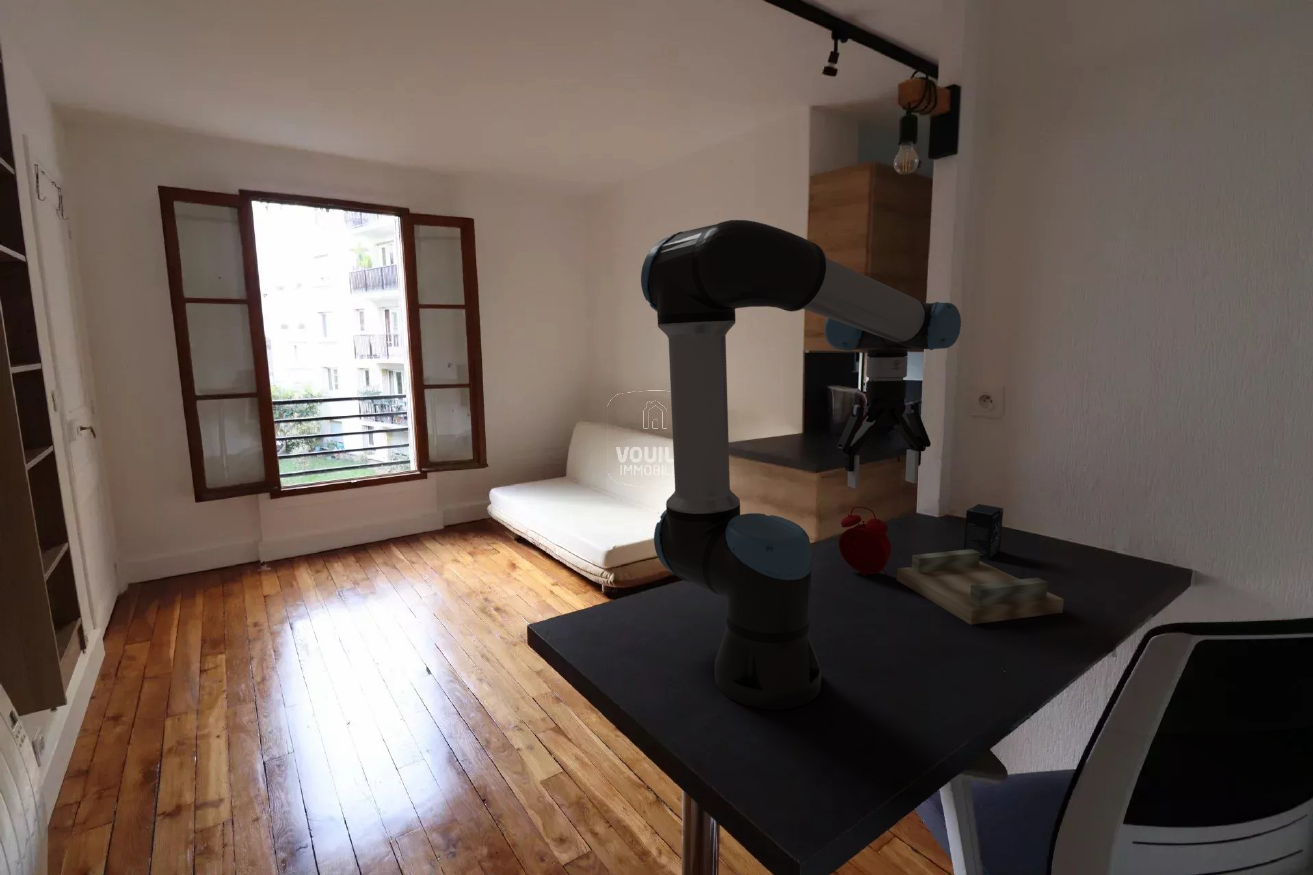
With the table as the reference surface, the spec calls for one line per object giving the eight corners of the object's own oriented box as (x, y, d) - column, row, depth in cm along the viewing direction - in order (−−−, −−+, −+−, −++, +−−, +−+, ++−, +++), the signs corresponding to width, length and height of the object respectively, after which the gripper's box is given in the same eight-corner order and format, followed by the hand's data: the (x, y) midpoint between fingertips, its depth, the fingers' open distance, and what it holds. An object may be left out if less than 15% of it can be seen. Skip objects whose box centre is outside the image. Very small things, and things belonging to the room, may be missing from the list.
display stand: (970, 624, 105) (972, 594, 104) (896, 580, 125) (897, 554, 124) (1062, 612, 109) (1065, 582, 108) (976, 571, 129) (978, 546, 128)
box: (989, 560, 136) (992, 514, 134) (962, 554, 140) (965, 509, 138) (1001, 551, 141) (1004, 507, 139) (974, 546, 145) (977, 503, 144)
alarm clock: (895, 576, 127) (898, 506, 125) (882, 585, 122) (884, 512, 120) (848, 564, 134) (850, 498, 132) (834, 572, 130) (836, 503, 128)
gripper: (840, 382, 114) (838, 493, 117) (953, 377, 120) (947, 483, 123) (819, 380, 121) (817, 485, 124) (926, 376, 127) (922, 476, 130)
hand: (882, 484), depth 124 cm, fingers open, 13 cm apart
